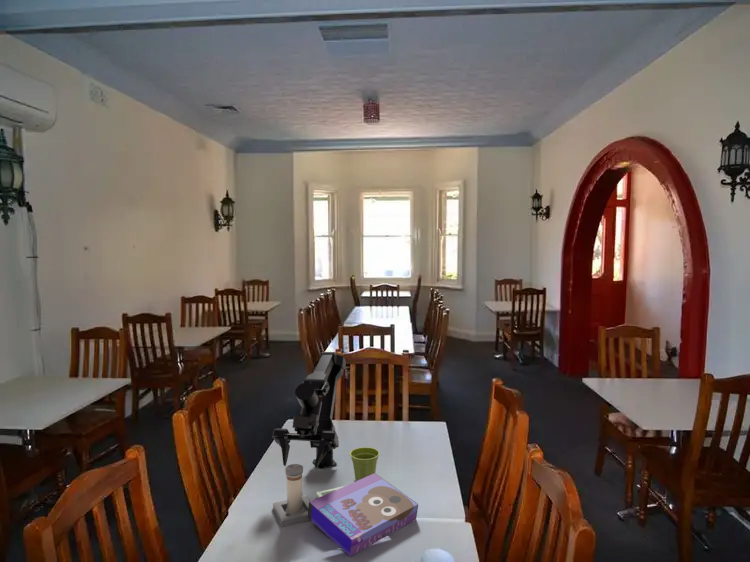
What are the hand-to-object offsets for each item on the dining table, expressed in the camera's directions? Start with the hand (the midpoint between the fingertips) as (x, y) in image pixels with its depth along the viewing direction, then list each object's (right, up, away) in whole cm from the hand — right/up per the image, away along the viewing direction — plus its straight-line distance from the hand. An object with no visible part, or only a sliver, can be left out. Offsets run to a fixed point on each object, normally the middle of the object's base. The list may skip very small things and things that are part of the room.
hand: (299, 466), depth 150 cm
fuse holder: (-1, -12, -4) cm, 13 cm away
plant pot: (+18, -10, +17) cm, 27 cm away
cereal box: (+27, -8, 0) cm, 28 cm away
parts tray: (+11, -12, +2) cm, 16 cm away
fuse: (-1, -11, -4) cm, 12 cm away
